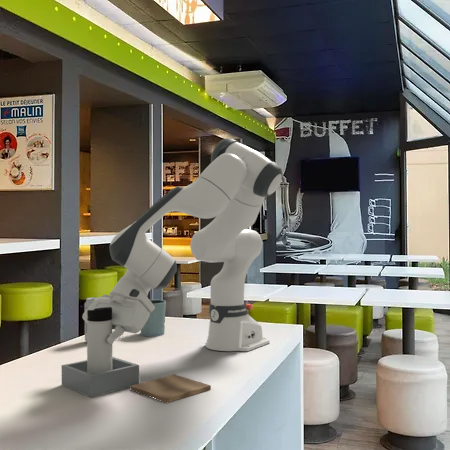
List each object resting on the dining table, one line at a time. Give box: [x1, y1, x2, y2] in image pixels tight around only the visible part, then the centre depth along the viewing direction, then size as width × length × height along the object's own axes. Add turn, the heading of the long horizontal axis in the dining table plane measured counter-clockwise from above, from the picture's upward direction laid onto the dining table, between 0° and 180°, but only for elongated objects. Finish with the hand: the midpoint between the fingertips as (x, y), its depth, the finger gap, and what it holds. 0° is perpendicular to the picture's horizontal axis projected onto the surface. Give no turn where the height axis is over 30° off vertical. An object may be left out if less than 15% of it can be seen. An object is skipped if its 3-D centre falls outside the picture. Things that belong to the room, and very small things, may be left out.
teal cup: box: [140, 299, 167, 337], centre depth 202 cm, size 10×10×12 cm
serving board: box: [130, 374, 212, 404], centre depth 136 cm, size 14×14×1 cm
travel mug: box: [86, 307, 113, 375], centre depth 140 cm, size 6×7×20 cm
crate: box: [61, 356, 140, 398], centre depth 141 cm, size 14×14×5 cm
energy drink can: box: [84, 296, 99, 343], centre depth 189 cm, size 6×6×15 cm
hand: (97, 340), depth 140 cm, fingers closed on travel mug, 6 cm apart
